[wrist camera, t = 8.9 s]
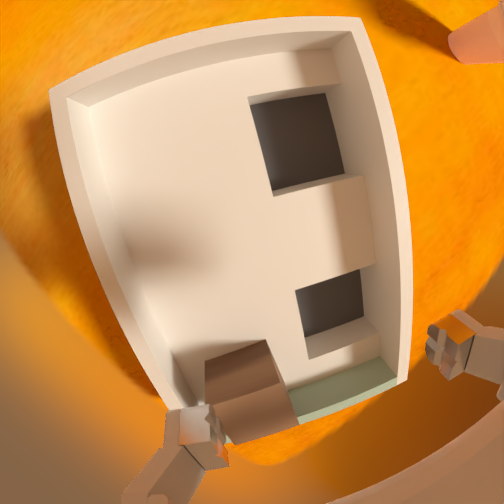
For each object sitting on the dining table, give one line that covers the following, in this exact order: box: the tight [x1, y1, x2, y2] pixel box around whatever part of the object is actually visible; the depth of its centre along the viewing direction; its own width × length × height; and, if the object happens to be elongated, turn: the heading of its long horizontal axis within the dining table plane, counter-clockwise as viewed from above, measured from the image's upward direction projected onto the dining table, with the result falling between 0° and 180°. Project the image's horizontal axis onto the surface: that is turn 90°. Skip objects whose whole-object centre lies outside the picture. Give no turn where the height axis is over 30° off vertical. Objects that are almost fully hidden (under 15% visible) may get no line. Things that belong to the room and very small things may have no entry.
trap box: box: [49, 16, 413, 443], centre depth 17 cm, size 25×17×6 cm
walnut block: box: [205, 339, 300, 445], centre depth 17 cm, size 4×4×4 cm
